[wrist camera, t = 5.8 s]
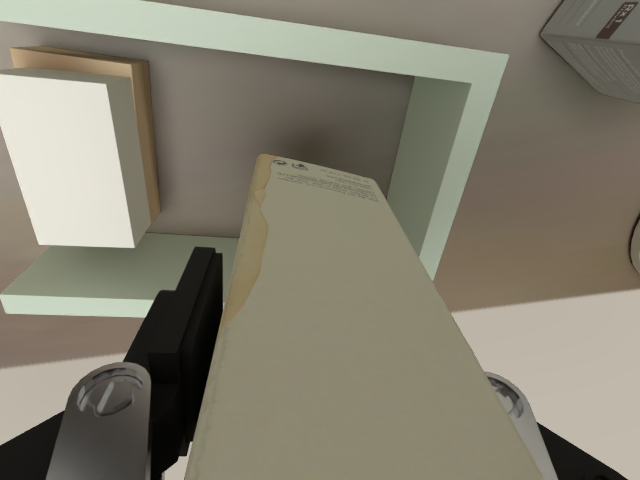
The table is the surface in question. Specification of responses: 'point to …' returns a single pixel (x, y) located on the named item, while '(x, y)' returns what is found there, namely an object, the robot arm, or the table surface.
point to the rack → (283, 42)
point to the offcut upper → (76, 155)
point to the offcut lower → (116, 67)
